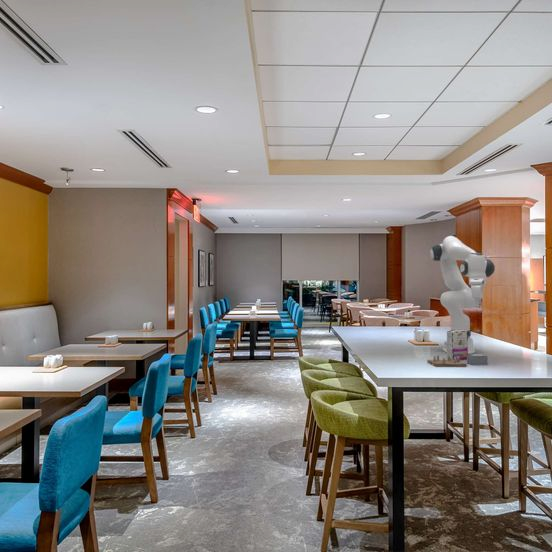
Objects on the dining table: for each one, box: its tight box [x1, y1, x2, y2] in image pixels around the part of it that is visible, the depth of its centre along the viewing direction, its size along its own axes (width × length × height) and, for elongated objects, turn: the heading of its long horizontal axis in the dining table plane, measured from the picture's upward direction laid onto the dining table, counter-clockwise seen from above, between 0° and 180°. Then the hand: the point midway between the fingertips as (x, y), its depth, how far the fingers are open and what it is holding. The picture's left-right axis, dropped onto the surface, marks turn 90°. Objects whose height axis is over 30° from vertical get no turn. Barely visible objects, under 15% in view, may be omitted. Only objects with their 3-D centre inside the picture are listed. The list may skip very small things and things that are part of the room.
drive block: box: [466, 354, 489, 366], centre depth 254 cm, size 5×9×5 cm, turn 92°
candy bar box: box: [446, 330, 469, 361], centre depth 271 cm, size 11×5×16 cm, turn 112°
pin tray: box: [426, 354, 468, 368], centre depth 253 cm, size 14×16×4 cm
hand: (478, 307), depth 258 cm, fingers open, 8 cm apart
